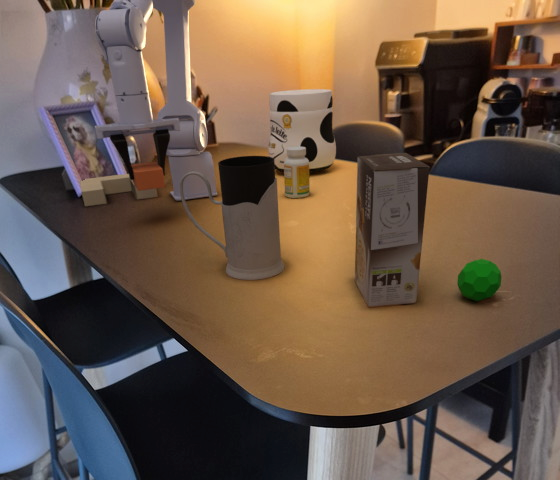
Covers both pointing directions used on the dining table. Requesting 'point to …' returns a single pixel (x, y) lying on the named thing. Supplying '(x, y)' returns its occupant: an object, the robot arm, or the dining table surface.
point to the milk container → (302, 126)
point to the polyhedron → (479, 280)
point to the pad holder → (110, 189)
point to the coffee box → (389, 227)
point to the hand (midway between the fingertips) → (147, 176)
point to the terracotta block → (148, 176)
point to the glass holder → (247, 216)
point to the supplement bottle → (296, 173)
